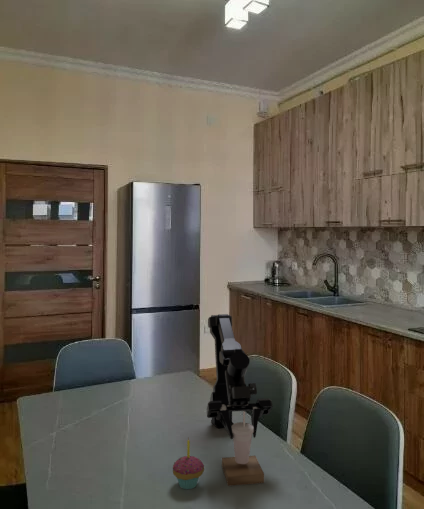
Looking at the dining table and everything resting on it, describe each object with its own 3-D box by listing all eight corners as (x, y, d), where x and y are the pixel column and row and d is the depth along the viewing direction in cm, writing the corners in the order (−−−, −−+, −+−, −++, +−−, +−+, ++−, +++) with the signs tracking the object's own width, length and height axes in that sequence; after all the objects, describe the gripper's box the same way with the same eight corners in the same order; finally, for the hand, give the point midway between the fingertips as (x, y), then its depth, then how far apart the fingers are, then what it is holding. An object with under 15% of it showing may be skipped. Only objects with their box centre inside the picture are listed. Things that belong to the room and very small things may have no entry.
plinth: (221, 466, 124) (221, 457, 124) (255, 463, 125) (255, 455, 125) (227, 485, 114) (227, 476, 114) (264, 483, 115) (264, 474, 115)
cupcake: (172, 476, 119) (172, 434, 118) (203, 475, 119) (203, 433, 119) (172, 494, 110) (172, 449, 110) (205, 493, 111) (205, 447, 110)
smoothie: (258, 462, 119) (259, 413, 119) (240, 469, 115) (241, 418, 115) (242, 452, 124) (243, 405, 124) (225, 459, 120) (226, 410, 120)
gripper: (208, 374, 121) (213, 429, 111) (271, 371, 124) (282, 425, 114) (204, 391, 130) (209, 444, 119) (264, 388, 132) (273, 440, 122)
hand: (243, 438), depth 118 cm, fingers closed on smoothie, 6 cm apart
